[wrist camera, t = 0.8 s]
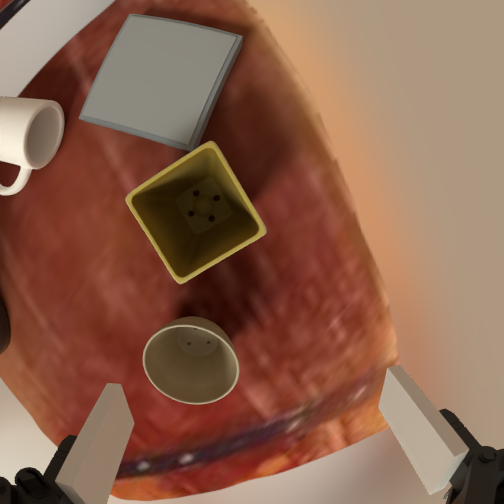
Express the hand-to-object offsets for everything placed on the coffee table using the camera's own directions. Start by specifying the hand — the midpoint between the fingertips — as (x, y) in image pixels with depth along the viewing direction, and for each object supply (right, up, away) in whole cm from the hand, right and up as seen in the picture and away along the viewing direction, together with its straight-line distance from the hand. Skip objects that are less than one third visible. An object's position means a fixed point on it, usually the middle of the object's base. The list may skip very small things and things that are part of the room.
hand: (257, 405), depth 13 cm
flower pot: (-5, +12, +19) cm, 24 cm away
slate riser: (-10, +26, +16) cm, 33 cm away
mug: (-29, +21, +17) cm, 39 cm away
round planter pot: (-7, -3, +23) cm, 24 cm away
